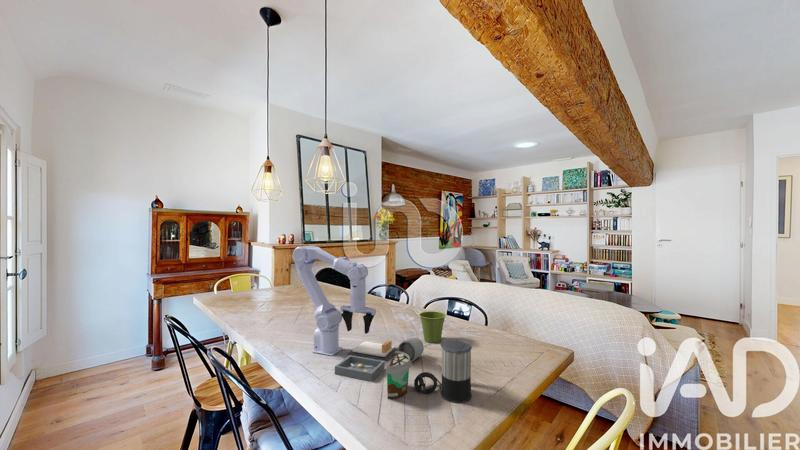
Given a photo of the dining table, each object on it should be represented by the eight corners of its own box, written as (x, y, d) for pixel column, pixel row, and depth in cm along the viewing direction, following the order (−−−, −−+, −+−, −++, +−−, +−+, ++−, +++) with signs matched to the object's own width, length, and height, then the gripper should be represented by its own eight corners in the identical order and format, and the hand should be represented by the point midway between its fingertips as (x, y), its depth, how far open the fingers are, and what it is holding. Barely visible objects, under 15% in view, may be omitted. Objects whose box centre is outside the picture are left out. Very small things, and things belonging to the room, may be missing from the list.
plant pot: (450, 338, 141) (450, 313, 141) (438, 347, 131) (438, 320, 131) (426, 333, 148) (426, 309, 148) (414, 341, 138) (414, 315, 138)
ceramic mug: (425, 356, 122) (424, 336, 122) (415, 364, 115) (415, 343, 115) (401, 351, 127) (400, 332, 127) (390, 359, 120) (390, 338, 120)
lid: (352, 353, 124) (352, 342, 124) (364, 344, 134) (364, 334, 134) (384, 358, 119) (385, 348, 119) (395, 348, 128) (395, 339, 128)
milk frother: (477, 400, 92) (477, 349, 92) (426, 409, 87) (426, 355, 87) (455, 377, 105) (455, 333, 105) (410, 384, 101) (410, 337, 101)
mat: (347, 354, 124) (347, 353, 124) (362, 343, 135) (362, 342, 135) (387, 361, 118) (387, 360, 118) (399, 349, 129) (399, 348, 129)
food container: (407, 404, 90) (407, 368, 90) (386, 401, 91) (386, 366, 91) (414, 382, 102) (414, 351, 102) (395, 380, 103) (395, 350, 103)
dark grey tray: (334, 374, 108) (334, 366, 108) (349, 362, 117) (349, 355, 117) (371, 381, 102) (371, 373, 102) (384, 368, 112) (384, 361, 112)
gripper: (336, 296, 121) (336, 332, 121) (370, 300, 116) (370, 337, 116) (345, 293, 128) (345, 326, 128) (378, 296, 123) (378, 331, 123)
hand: (358, 331), depth 122 cm, fingers open, 7 cm apart
